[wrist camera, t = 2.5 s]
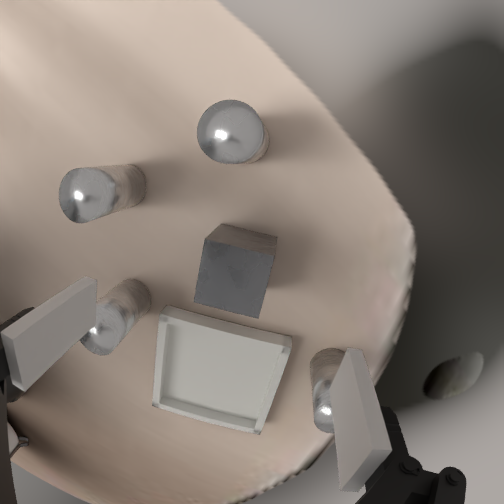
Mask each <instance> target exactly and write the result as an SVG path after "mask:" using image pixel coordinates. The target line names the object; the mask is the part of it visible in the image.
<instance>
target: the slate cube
mask: <svg viewBox="0 0 504 504" xmlns="http://www.w3.org/2000/svg"><path fill="white" fill-rule="evenodd" d="M276 241H277V237H275V236H271V235H267V234H263V233H259V232H254V231H250V230H246V229H242V228H238V227H234V226H230V225H225V224H220V225H219V226H218V227H217V228H216V229H215V230H214V231H213V232H212V233H211V234H210V235H209V236H208V237H206V238H205V241H204V247H203V252H202V257H201V263H200V268H199V274H198V280H197V286H196V291H195V297H194V302H196V303H199V304H203V305H207V306H210V307H214V308H218V309H222V310H226V311H230V312H233V313H237V314H241V315H245V316H249V317H253V318H259V314H260V310H261V307H262V303H263V299H264V295H265V291H266V288H267V284H268V280H269V276H270V272H271V268H272V264H273V260H274V257H275V249H276Z"/></svg>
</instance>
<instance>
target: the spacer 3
mask: <svg viewBox="0 0 504 504" xmlns="http://www.w3.org/2000/svg"><path fill="white" fill-rule="evenodd" d="M197 138H198V142H199V145H200V147H201V149H202V150H203V151H204V153H205V154H206V155H207V156H208V157H210V158H211V159H213V160H215V161H217V162H220V163H225V164H247V163H253V162H255V161H257V160H259V159H260V158H261V157H262V156H263V155H264V154H265V153H266V151H267V149H268V146H269V135H268V132H267V130H266V128H265V126H264V124H263V123H262V121H261V119H260V117H259V116H258V114H257V113H256V111H255V110H254V109H253V108H252V107H251V106H249V105H248V104H246V103H244V102H241V101H237V100H224V101H220V102H218V103H215V104H214V105H212V106H211V107H209V108H208V109H207V110H206V111H205V112H204V113H203V115H202V117H201V118H200V121H199V123H198V128H197Z"/></svg>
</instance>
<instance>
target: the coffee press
mask: <svg viewBox="0 0 504 504" xmlns="http://www.w3.org/2000/svg"><path fill="white" fill-rule="evenodd" d="M7 427H8V441H9V452H10V458H11V457H12V456H13V455H14V453H15V452H16V451H17V450H18V449H19V448H20V447H23V446H28V445H29V440H28V438H27V437H20V436H18V435H16V433H15V431H14V430H13V428H12V427H11V425H10V424H9V423H8V422H7ZM18 439H19V440H26V441H28V442H27V443H21V444H19V440H18Z"/></svg>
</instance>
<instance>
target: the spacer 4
mask: <svg viewBox="0 0 504 504" xmlns="http://www.w3.org/2000/svg"><path fill="white" fill-rule="evenodd" d="M344 355H345V353H344V352H342V351H341V350H338V349H325V350H322V351H320V352H318V353H317V354H316V355H315V356H314V357H313V358H312V360H311V363H310V372H311V384H312V396H313V409H314V422H315V425H316V426H317V428H318V429H320V430H321V431H324V432H327V433H335V432H334V423H333V415H332V406H331V398H330V391H329V389H330V386H331V384H332V382H333V380H334V378H335V376H336V373H337V371H338V369H339V367H340V364H341V362H342V360H343V358H344Z"/></svg>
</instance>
